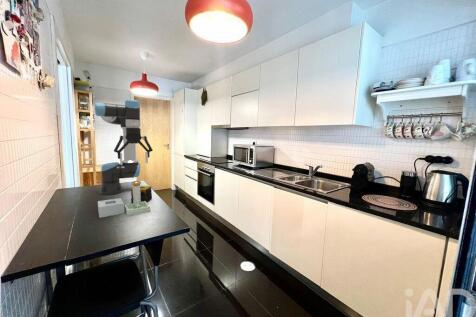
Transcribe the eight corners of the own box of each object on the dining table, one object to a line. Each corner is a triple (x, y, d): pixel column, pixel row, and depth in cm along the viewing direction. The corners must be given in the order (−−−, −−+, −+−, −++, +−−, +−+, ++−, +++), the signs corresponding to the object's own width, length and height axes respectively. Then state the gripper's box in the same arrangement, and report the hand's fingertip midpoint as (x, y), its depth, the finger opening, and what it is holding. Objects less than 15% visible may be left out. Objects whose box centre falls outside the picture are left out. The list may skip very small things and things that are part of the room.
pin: (132, 209, 122) (131, 181, 120) (140, 207, 125) (139, 180, 123) (133, 211, 118) (132, 183, 116) (142, 210, 121) (141, 182, 119)
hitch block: (98, 211, 120) (97, 201, 119) (121, 207, 127) (120, 198, 126) (99, 217, 110) (98, 207, 110) (124, 213, 118) (123, 203, 117)
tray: (124, 209, 123) (124, 204, 123) (145, 206, 130) (145, 201, 130) (127, 216, 113) (127, 210, 113) (150, 211, 121) (150, 206, 120)
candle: (145, 204, 134) (145, 189, 133) (130, 203, 134) (130, 189, 133) (152, 199, 144) (152, 185, 143) (138, 199, 144) (138, 185, 143)
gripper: (108, 126, 106) (110, 166, 109) (157, 128, 121) (158, 163, 124) (107, 126, 112) (108, 164, 115) (154, 128, 127) (154, 161, 130)
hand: (134, 163), depth 119 cm, fingers open, 13 cm apart
